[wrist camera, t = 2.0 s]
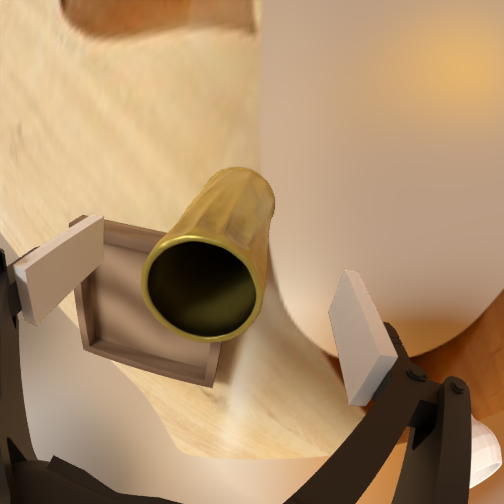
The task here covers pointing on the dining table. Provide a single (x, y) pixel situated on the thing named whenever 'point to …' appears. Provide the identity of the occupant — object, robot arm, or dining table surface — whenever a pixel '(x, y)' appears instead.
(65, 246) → the robot arm
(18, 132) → the dining table surface
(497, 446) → the cup
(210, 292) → the vase
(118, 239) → the walnut tray
